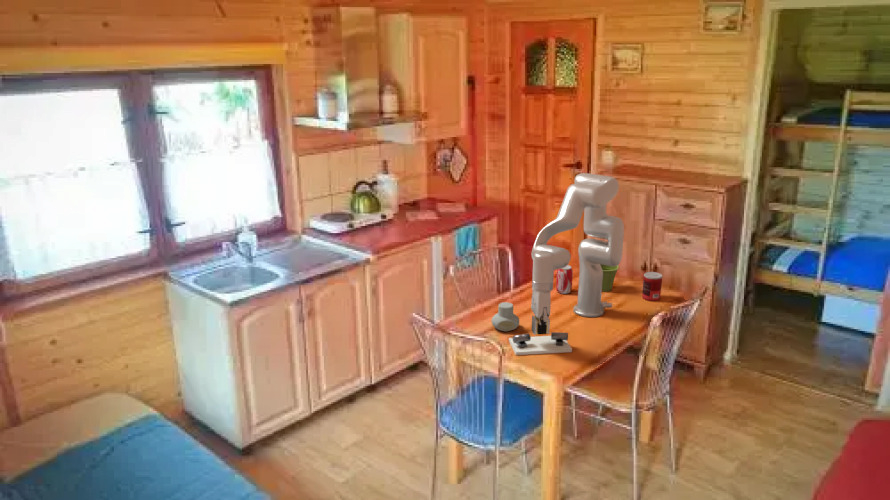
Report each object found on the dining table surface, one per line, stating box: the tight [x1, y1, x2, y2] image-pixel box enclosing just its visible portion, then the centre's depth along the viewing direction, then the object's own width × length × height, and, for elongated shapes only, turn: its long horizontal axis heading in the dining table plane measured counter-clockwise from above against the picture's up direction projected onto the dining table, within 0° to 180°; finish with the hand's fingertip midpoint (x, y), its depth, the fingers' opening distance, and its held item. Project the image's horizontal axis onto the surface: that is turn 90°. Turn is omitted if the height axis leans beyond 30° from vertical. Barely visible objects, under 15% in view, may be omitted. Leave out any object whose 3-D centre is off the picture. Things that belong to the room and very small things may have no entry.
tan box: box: [531, 315, 551, 336], centre depth 248 cm, size 6×4×6 cm
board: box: [508, 335, 573, 356], centre depth 251 cm, size 21×12×1 cm, turn 97°
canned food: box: [641, 271, 663, 302], centre depth 294 cm, size 8×8×11 cm
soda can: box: [555, 264, 574, 295], centre depth 301 cm, size 7×7×12 cm
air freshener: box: [491, 301, 520, 332], centre depth 265 cm, size 11×8×10 cm
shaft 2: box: [550, 331, 569, 346], centre depth 250 cm, size 6×4×4 cm
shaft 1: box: [512, 332, 532, 348], centre depth 248 cm, size 6×4×4 cm
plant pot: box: [600, 264, 620, 293], centre depth 304 cm, size 12×12×11 cm
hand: (540, 330), depth 249 cm, fingers closed on tan box, 4 cm apart
